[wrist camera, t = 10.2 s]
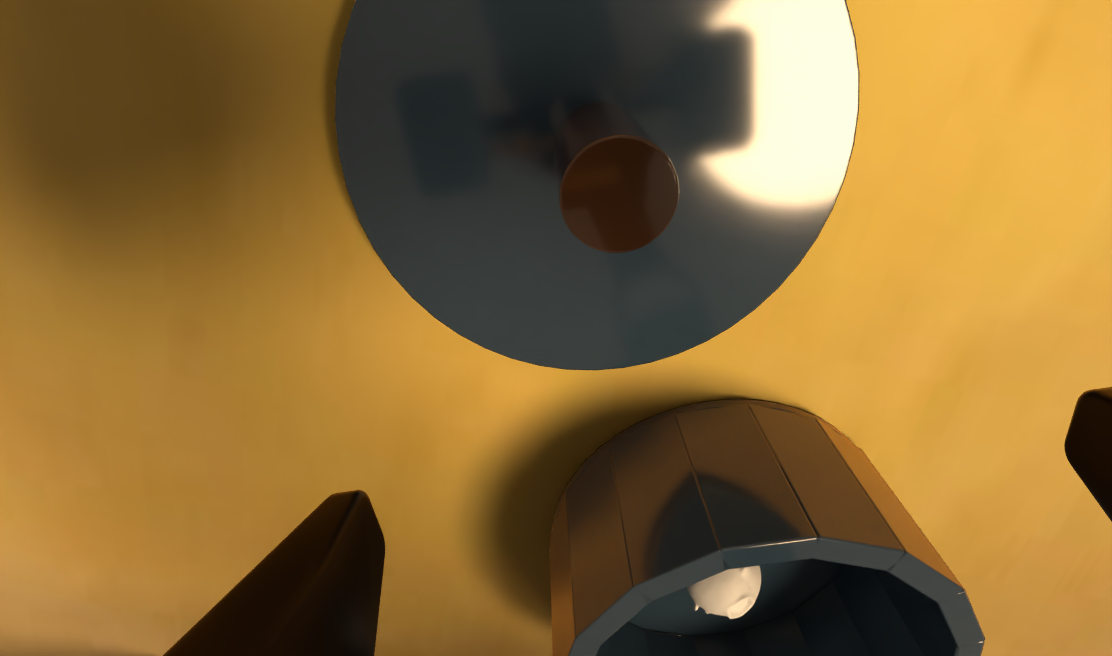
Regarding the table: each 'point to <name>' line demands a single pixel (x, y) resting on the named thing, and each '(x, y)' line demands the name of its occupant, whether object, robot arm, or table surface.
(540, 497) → the table surface
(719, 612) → the white piggy bank
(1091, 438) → the robot arm
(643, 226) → the lid
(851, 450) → the canister
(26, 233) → the table surface
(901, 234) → the table surface
